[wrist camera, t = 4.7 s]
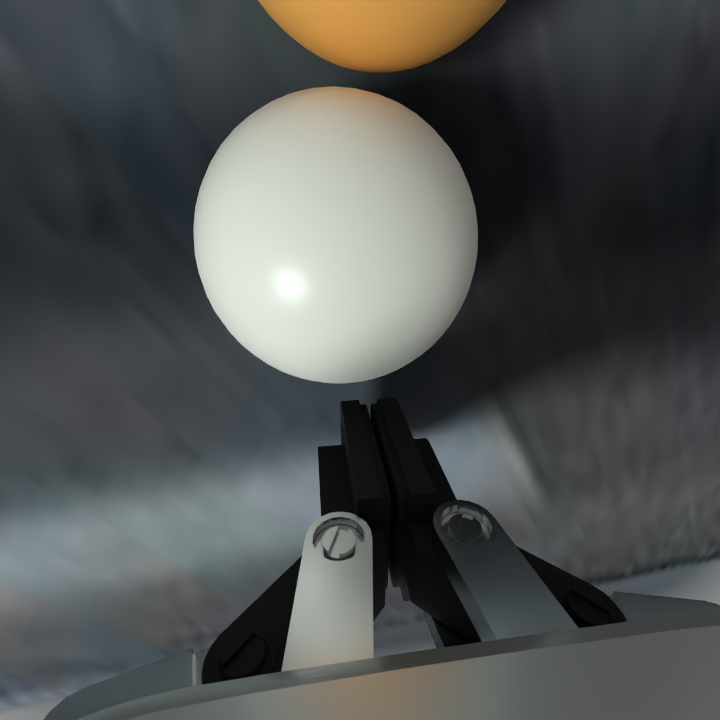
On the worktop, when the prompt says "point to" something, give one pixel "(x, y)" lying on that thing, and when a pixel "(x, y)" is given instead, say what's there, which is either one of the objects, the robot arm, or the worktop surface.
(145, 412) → the worktop surface
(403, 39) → the object ball
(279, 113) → the cue ball
